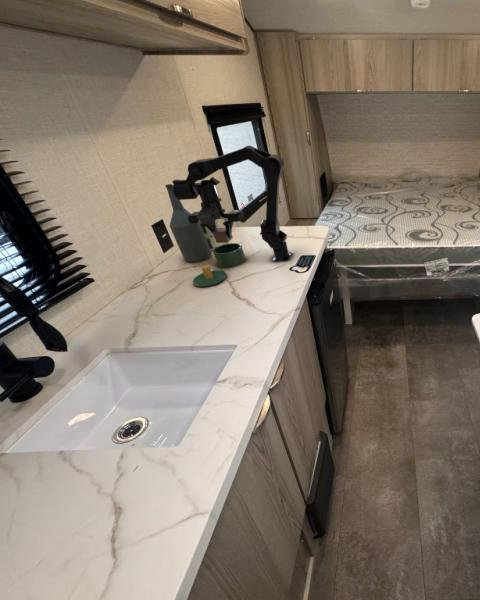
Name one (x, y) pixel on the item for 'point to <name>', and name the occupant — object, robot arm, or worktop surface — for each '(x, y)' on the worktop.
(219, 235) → the block
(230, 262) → the tin
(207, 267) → the lid
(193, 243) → the bottle
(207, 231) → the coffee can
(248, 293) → the worktop surface
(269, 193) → the robot arm
